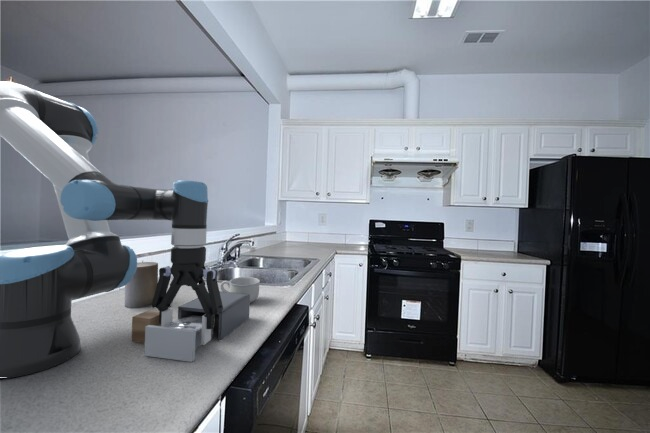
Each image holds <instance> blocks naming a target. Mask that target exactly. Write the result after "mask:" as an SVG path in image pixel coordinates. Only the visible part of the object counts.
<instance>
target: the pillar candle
mask: <svg viewBox="0 0 650 433" xmlns="http://www.w3.org/2000/svg"><path fill="white" fill-rule="evenodd" d="M158 280H159V262H156V261H155V262H154V261H144V260H141V261H140V262H139V261H138V262H137V269H136V272H135V274H134V275H133V278H132V279H131V281H130V282H129V283H127V284H126V285H125V286H124V306H125V307H127V308H131V309H132V308H133V309H134V308H135V309H136V308H143V307H144V308H145V307H148V306H151V305H152V301H153V298H154V294H155V291H156V287H157V284H158Z"/></svg>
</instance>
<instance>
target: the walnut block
mask: <svg viewBox="0 0 650 433" xmlns="http://www.w3.org/2000/svg"><path fill="white" fill-rule="evenodd" d="M131 318H132V319H131V342H136V343H144V344H145V327H146V326H148V325H154V326H161V324H160V323H159V310H158V311H157V310H149V309H148V310H147V311H146V310H145V311H143V312H141V313H139V314H135V315H133V316H132V317H131Z"/></svg>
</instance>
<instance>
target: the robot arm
mask: <svg viewBox="0 0 650 433" xmlns="http://www.w3.org/2000/svg"><path fill="white" fill-rule="evenodd" d="M98 128H99V127H98V124H97V121H96V120H95V118H94V115H92V114H91V113H90V112H89V111H88V110H87V109H85V108H84V107H81V106H79V105H77V104H76V103H73V102H70V101H67V100H62V99H59V98H57V97H55V96H52V95H49V94H46V93H43V92H41V91H38V90H36V89H33V88H30V87H29V86H26V85H23V84H21V83H16V82H11V81H3V80H2V81H0V138H2V139H4V141H5V142H7V143H8V144H9V145H10V146H11V147H12V148H13V149H14V150H15V151H16V152H18V154H20V155H21V156H22V157H23V158H25V160H26V161H28V162H29V164H30V165H32V166H33V167H34V168H35V169H36V170H37V171H39V172H40V173H41V174H42V175H43V176H44V177H45V178H46V179H48V180H49V181H50V183H52V185H53V189H54V192H55V196H56V199H57V203H58V207H59V211H60V214H61V218H62V220H63V225H64V229H65V232H66V235H67V238H68V240H67V241H66V243H65V244H64V245H63V244H61V245H59V244H55V245H45V246H35V247H28V248H22V249H17V250H13V251H10V252H6V253H4V254H2V255H0V377H9V378H8V379H12V378H18V377H22V376H26V375H32V374H34V373H35V374H36V373H39V372H43V371H45V370H47V369H50V368H53V367H56V366H58V365H60V364H62V363H65V362H66V361H68V360H70V359H72V358H73V357H75V356H76V355H77V354H78V353H79V352H80V350H81V337H80V334H79V332H78V330H77V328H76V325H75V323H74V321H73V318H72V301H76V300H80V299H83V298H86V297H91V296H95V295H99V294H102V293H108V292H112V291H114V290H116V289H120V288H123V287H125V285H126V284H127V283H129V282H130V281H131V279H132V278H133V275H134V274H135V272H136V269H137V263H138V259H137V254H136V253H135V251H134V249H133V248H130V246H129V245H126V244H122V242H121V238H120V236H119V235H118V234H115V233H114V232H112V231H111V228H110V225H109V222H108V221H121V220H122V221H128V220H129V221H151V220H152V221H171V234H170V235H171V237H170V240H171V242H170V244H171V245H172V246H173V247H172V248H170V263H171V266H170V265H168V266H163V267H160V268H158V284H157V287H156V291H155V294H154V298H153V301H152V305H150V306H151V308H152V309H154V308H155V309H156V310H158V311H159V323H160V324H161V326H163V327H167V326H168V324H169V323H171V322H172V321H173V308H171V307H172V303H173V301H174V300H175V298H176V296H177V295H178V293H179V291H180V289H181V287H182V286H186V287H191V289H192V290H193V291H194V292H195V294H196V297H197V298H198V299H199V301H200V303H201V305H202V308H203V310H204V312H205V315H203V316H202V338H201V344H202V345H206V344H207V343H208V342H210V341H211V340H212V337H211V328H213V329H214V327H215V321H216V319H215V318H216V316H215V314H217V313H218V312H220V311H222V310H223V305H222V301H221V296H220V292H219V291H220V288H219V283H218V279H217V278H218V270H217V269H212V270H211V269H206V267H205V266H206V265H205V264H206V259H207V248H206V246H205V245H206V244H207V233H208V232H207V231H208V230H207V226H208V225H207V220H208V219H207V217H208V204H209V198H208V196H209V195H208V185H207V184H206V183H205V182H202V181H196V180H186V179H179V180H175V181H174V182H173V183H172V188H171V189H164V188H163V189H160V188H158V189H157V188H148V187H141V186H132V185H126V184H125V185H123V184H118V183H115V182H113V181H112V180H110V179H109V178H108V177H107V176H106V175H104V173H102V172H101V171H100V170H99V169H97V167H95V166H94V165H93V164H92V163H91V161H90V157H89V152H90V151H91V150H92V148H93V145H94V144H95V142H96V140H97V138H98V137H97V134H99V133H98V132H99V129H98ZM172 276H173V278H172ZM171 278H172V280H171ZM204 279H205V280H206V282H205V280H204ZM11 377H12V378H11Z"/></svg>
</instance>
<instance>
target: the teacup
mask: <svg viewBox="0 0 650 433" xmlns="http://www.w3.org/2000/svg"><path fill="white" fill-rule="evenodd" d="M260 282H261V281H260V278H257V277H252V276H251V277H250V276H242V277H234V278H232V279H230V280H223V281H222V282H221V283H220V288H219V289H220V291H221V292H233V293H245V294H250V304H251V303H253V302H254V301H255V300H257V299H258V297H259V294H260ZM225 284H226V285H227V286H228V288H229V290H226V289H225V288H224V285H225Z"/></svg>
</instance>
